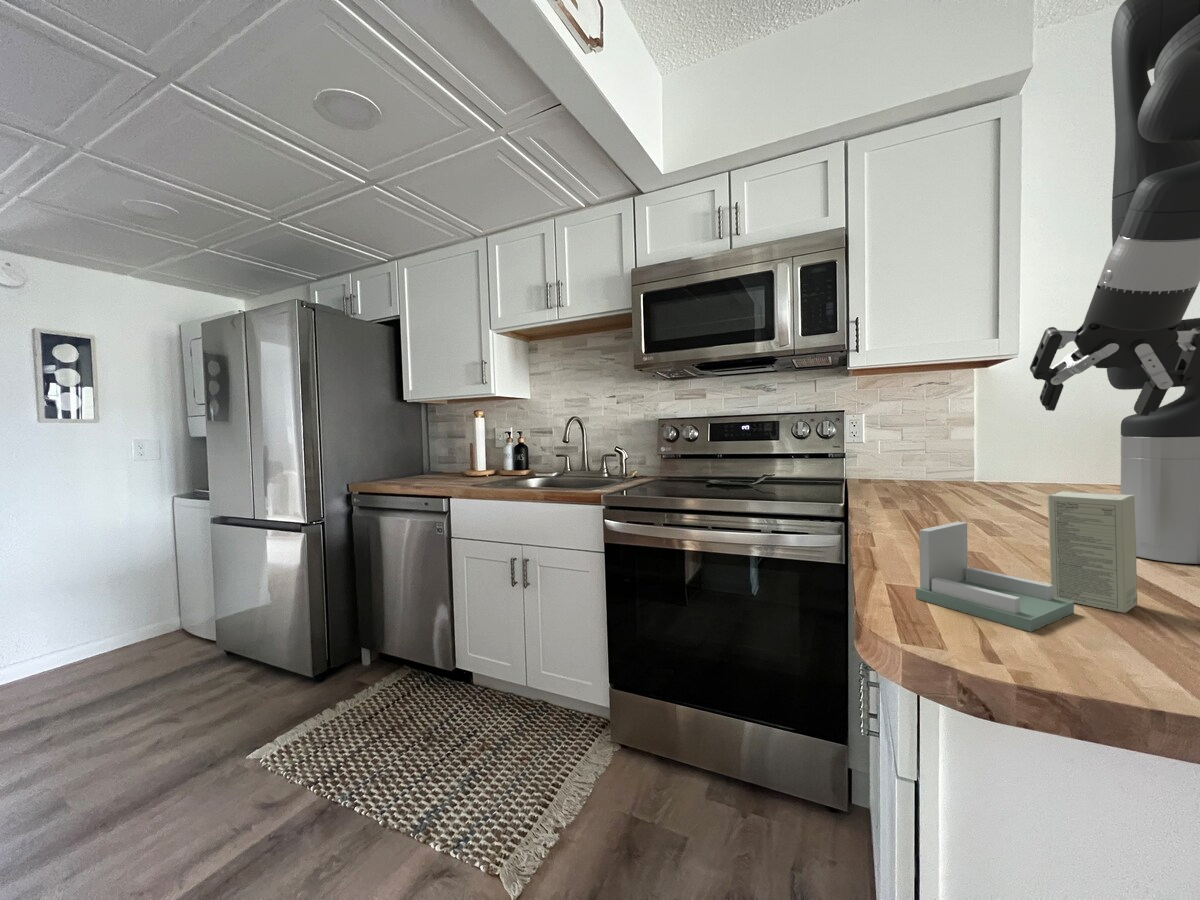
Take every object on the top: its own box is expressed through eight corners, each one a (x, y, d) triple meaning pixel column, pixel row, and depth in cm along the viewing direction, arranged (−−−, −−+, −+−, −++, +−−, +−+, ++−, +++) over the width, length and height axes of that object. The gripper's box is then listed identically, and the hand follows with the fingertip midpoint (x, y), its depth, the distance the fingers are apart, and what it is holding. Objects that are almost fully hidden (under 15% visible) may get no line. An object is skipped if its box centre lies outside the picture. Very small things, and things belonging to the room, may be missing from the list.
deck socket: (959, 584, 61) (958, 520, 61) (1074, 613, 51) (1074, 536, 51) (916, 598, 57) (915, 530, 57) (1030, 632, 47) (1030, 549, 47)
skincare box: (1138, 605, 52) (1139, 494, 52) (1125, 615, 50) (1125, 499, 50) (1061, 590, 58) (1061, 489, 57) (1046, 598, 56) (1046, 493, 55)
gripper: (1227, 266, 52) (1160, 401, 60) (1053, 273, 58) (1014, 393, 67) (1266, 285, 46) (1186, 430, 55) (1069, 290, 53) (1025, 419, 61)
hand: (1092, 410), depth 61 cm, fingers open, 8 cm apart
